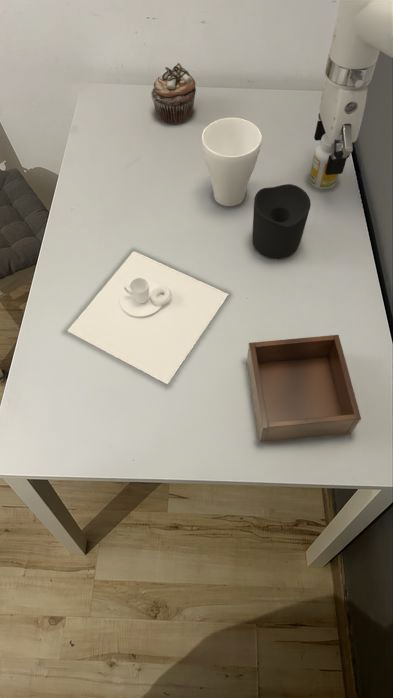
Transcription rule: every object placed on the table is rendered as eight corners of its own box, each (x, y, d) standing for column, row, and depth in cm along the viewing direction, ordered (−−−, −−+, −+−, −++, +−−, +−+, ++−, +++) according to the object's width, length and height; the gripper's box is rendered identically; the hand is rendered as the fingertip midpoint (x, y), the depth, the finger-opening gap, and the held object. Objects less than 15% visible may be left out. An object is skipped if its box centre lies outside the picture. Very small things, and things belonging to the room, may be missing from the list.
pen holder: (288, 269, 89) (296, 230, 80) (241, 250, 92) (244, 210, 83) (309, 234, 93) (319, 193, 84) (263, 217, 96) (268, 175, 87)
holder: (330, 354, 80) (338, 334, 75) (350, 434, 74) (361, 418, 68) (246, 361, 80) (249, 342, 75) (259, 442, 74) (263, 428, 68)
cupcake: (177, 94, 115) (175, 50, 106) (204, 114, 111) (204, 70, 102) (144, 111, 112) (139, 67, 103) (171, 132, 108) (167, 89, 100)
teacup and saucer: (177, 293, 87) (176, 279, 84) (152, 327, 84) (150, 313, 80) (136, 274, 89) (132, 259, 86) (110, 306, 86) (106, 292, 83)
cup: (264, 205, 97) (272, 147, 85) (215, 221, 95) (215, 163, 84) (242, 171, 102) (246, 111, 90) (194, 185, 100) (192, 126, 88)
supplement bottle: (340, 177, 100) (352, 135, 92) (329, 193, 98) (340, 152, 90) (315, 167, 102) (325, 125, 93) (304, 183, 100) (312, 142, 91)
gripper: (388, 99, 76) (358, 186, 91) (359, 35, 84) (336, 124, 99) (339, 102, 76) (317, 189, 91) (315, 38, 84) (299, 127, 99)
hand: (327, 155), depth 95 cm, fingers open, 9 cm apart
